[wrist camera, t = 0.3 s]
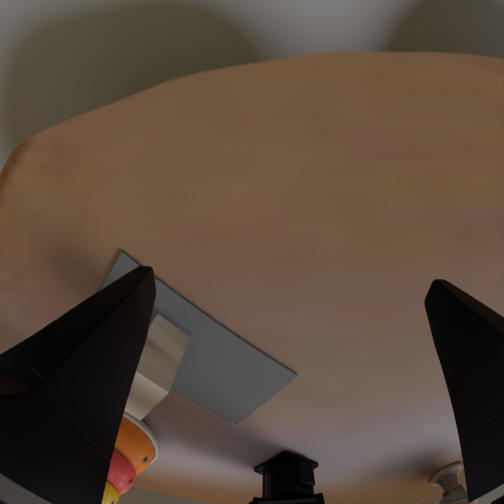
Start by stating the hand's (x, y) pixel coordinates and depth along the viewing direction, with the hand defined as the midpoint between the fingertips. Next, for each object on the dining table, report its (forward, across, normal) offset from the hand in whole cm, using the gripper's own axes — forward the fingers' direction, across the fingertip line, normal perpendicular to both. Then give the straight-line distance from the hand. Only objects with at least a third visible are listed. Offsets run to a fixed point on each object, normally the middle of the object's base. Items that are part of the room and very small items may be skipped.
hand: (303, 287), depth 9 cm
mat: (+12, +7, +18) cm, 22 cm away
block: (+12, +9, +16) cm, 22 cm away
